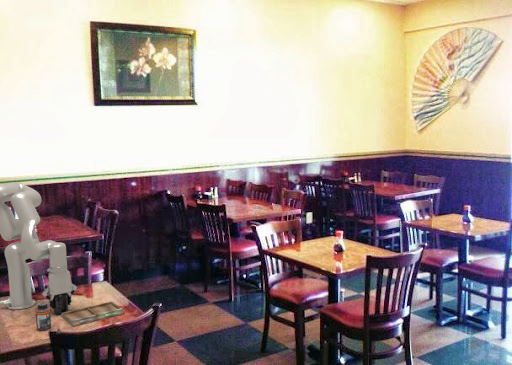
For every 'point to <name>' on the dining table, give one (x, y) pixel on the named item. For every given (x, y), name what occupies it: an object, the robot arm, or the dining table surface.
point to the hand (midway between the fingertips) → (60, 305)
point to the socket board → (92, 313)
